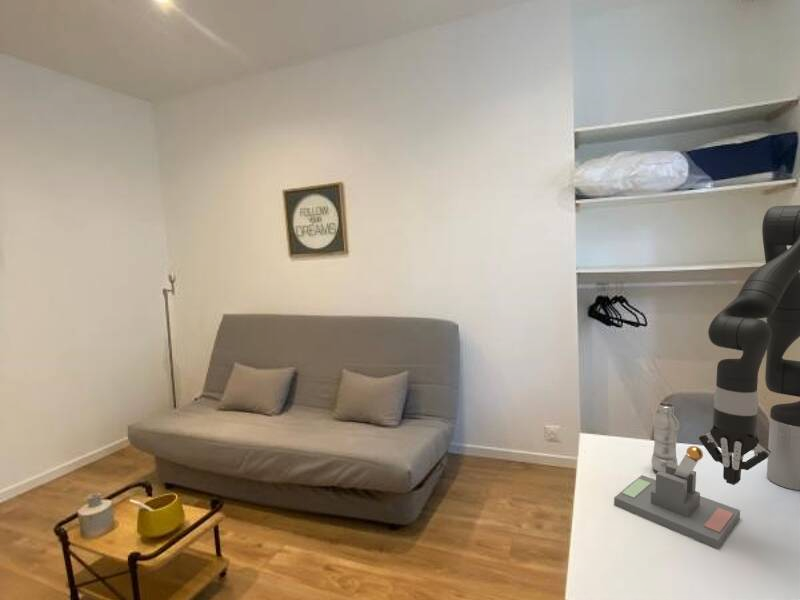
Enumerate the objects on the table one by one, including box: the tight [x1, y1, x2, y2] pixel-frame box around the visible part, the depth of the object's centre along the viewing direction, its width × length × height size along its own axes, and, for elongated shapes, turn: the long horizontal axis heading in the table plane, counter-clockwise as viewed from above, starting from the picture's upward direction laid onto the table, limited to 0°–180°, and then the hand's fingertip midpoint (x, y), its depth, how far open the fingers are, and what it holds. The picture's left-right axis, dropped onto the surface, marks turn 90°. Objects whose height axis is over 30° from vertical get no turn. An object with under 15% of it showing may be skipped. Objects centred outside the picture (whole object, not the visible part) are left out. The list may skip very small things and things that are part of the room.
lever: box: [673, 445, 704, 480], centre depth 104 cm, size 3×3×13 cm
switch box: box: [613, 463, 741, 550], centre depth 106 cm, size 16×22×10 cm
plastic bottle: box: [651, 402, 680, 473], centre depth 124 cm, size 6×7×20 cm
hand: (731, 482), depth 97 cm, fingers closed
